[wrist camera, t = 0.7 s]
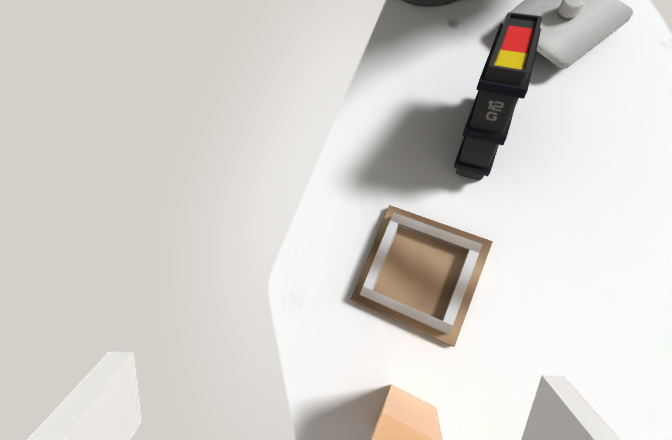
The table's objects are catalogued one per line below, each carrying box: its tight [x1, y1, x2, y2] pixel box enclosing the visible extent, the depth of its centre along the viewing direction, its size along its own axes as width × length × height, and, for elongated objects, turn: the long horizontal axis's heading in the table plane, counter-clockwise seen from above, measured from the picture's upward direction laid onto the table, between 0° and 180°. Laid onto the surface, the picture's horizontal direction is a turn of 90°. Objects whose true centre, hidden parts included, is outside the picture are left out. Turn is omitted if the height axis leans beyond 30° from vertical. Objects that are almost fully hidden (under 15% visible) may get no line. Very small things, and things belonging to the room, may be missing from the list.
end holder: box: [350, 205, 493, 347], centre depth 38 cm, size 12×12×2 cm
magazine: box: [454, 12, 542, 180], centre depth 36 cm, size 4×13×15 cm, turn 158°
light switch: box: [504, 0, 633, 68], centre depth 40 cm, size 10×10×5 cm
